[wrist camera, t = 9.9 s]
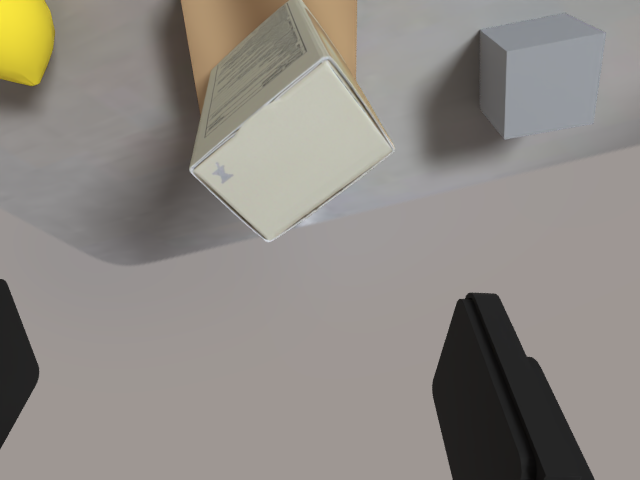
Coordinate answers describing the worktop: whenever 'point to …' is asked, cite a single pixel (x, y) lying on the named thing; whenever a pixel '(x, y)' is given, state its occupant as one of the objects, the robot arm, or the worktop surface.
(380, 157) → the skincare box
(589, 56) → the grey block
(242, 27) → the oak block
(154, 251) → the worktop surface
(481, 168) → the worktop surface
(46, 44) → the lemon
